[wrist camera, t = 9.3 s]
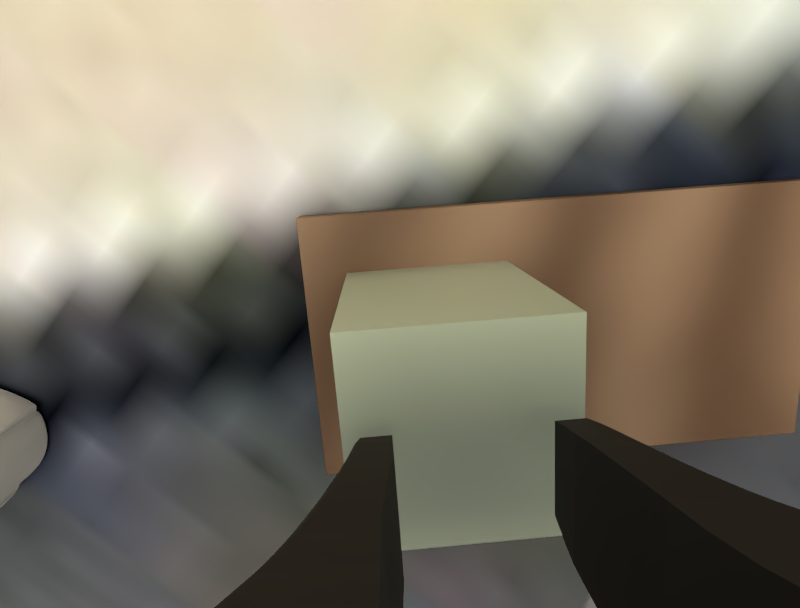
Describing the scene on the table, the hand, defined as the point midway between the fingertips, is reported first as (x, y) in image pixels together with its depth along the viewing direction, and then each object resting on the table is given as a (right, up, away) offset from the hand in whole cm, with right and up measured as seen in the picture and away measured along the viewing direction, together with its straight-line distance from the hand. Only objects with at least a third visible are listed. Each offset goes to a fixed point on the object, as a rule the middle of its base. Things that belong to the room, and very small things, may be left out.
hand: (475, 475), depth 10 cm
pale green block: (0, +2, +8) cm, 8 cm away
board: (+4, +3, +9) cm, 10 cm away
